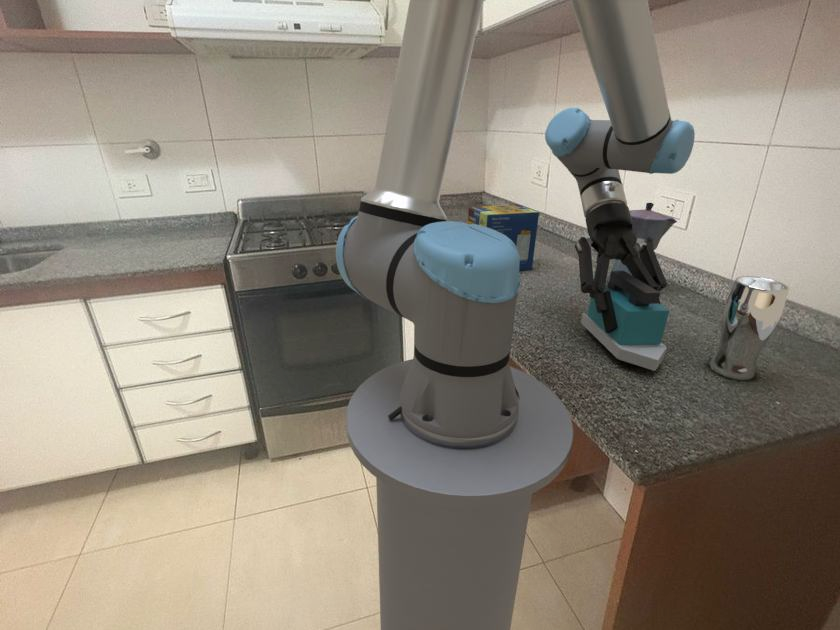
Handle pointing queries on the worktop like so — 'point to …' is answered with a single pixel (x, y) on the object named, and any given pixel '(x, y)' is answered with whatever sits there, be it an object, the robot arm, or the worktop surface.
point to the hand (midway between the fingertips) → (633, 329)
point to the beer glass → (747, 325)
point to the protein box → (510, 227)
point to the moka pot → (646, 229)
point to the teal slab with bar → (631, 322)
